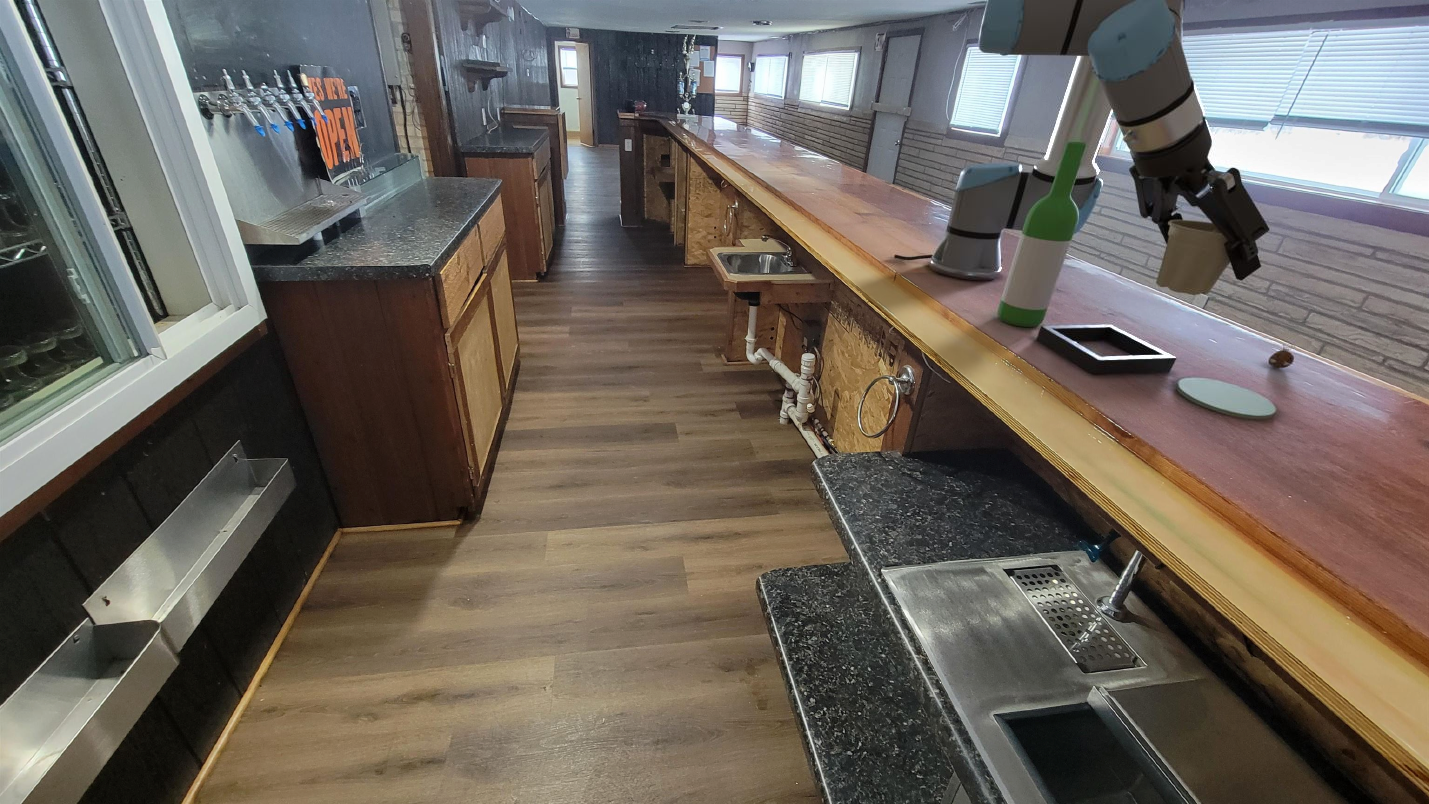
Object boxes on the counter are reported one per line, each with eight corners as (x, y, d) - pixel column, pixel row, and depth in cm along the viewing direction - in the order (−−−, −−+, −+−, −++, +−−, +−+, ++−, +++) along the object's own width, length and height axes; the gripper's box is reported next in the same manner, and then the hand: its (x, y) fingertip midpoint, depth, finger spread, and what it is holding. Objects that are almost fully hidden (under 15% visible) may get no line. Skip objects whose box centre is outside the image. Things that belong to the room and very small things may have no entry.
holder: (1093, 375, 85) (1099, 360, 83) (1036, 339, 96) (1040, 325, 95) (1169, 372, 87) (1177, 357, 85) (1105, 337, 98) (1110, 324, 97)
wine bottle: (994, 323, 102) (1050, 142, 87) (996, 310, 108) (1048, 139, 93) (1042, 332, 99) (1108, 146, 84) (1041, 318, 105) (1102, 143, 90)
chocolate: (1272, 370, 89) (1286, 347, 87) (1262, 364, 91) (1275, 341, 89) (1292, 372, 89) (1306, 348, 87) (1281, 365, 91) (1295, 343, 89)
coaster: (1174, 400, 79) (1176, 396, 78) (1177, 374, 86) (1179, 370, 86) (1276, 428, 73) (1279, 424, 73) (1271, 397, 81) (1273, 394, 80)
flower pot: (1195, 281, 84) (1224, 222, 80) (1240, 302, 76) (1274, 237, 71) (1129, 276, 85) (1154, 217, 80) (1166, 297, 76) (1196, 232, 72)
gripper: (1075, 146, 79) (1128, 258, 89) (1218, 168, 60) (1265, 308, 70) (1123, 105, 77) (1172, 225, 87) (1287, 114, 58) (1325, 266, 68)
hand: (1213, 262), depth 79 cm, fingers closed on flower pot, 9 cm apart
